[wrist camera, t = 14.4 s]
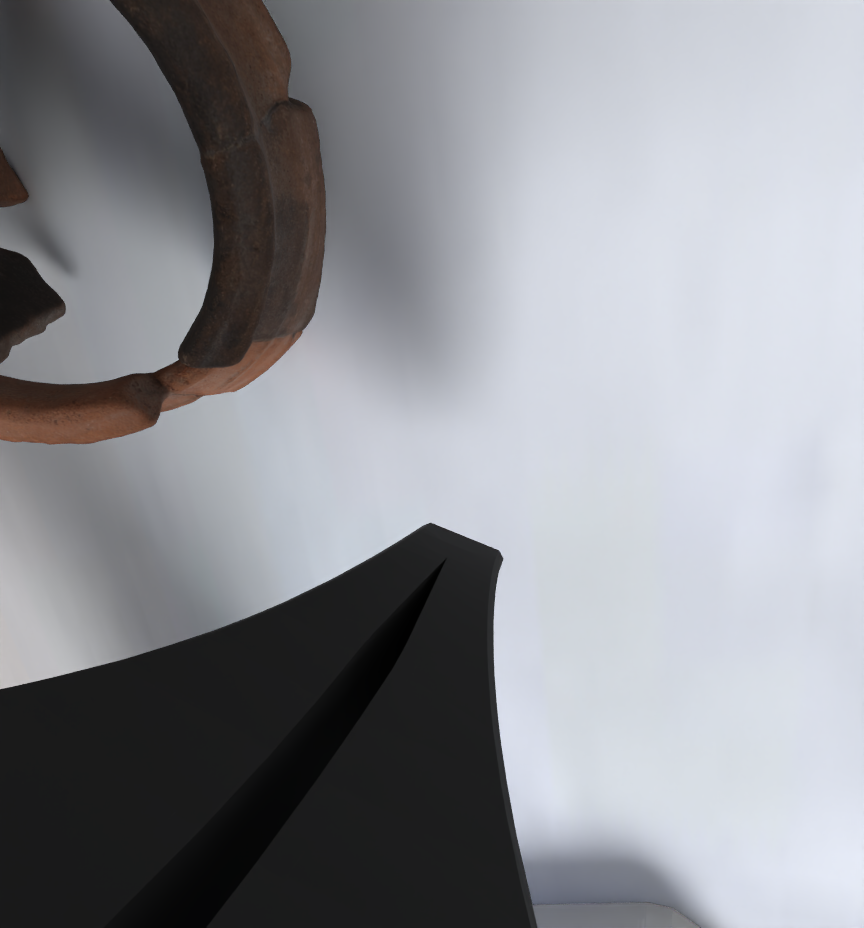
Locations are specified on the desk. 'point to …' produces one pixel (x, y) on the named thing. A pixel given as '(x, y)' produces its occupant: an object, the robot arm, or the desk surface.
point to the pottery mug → (234, 226)
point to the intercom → (609, 916)
